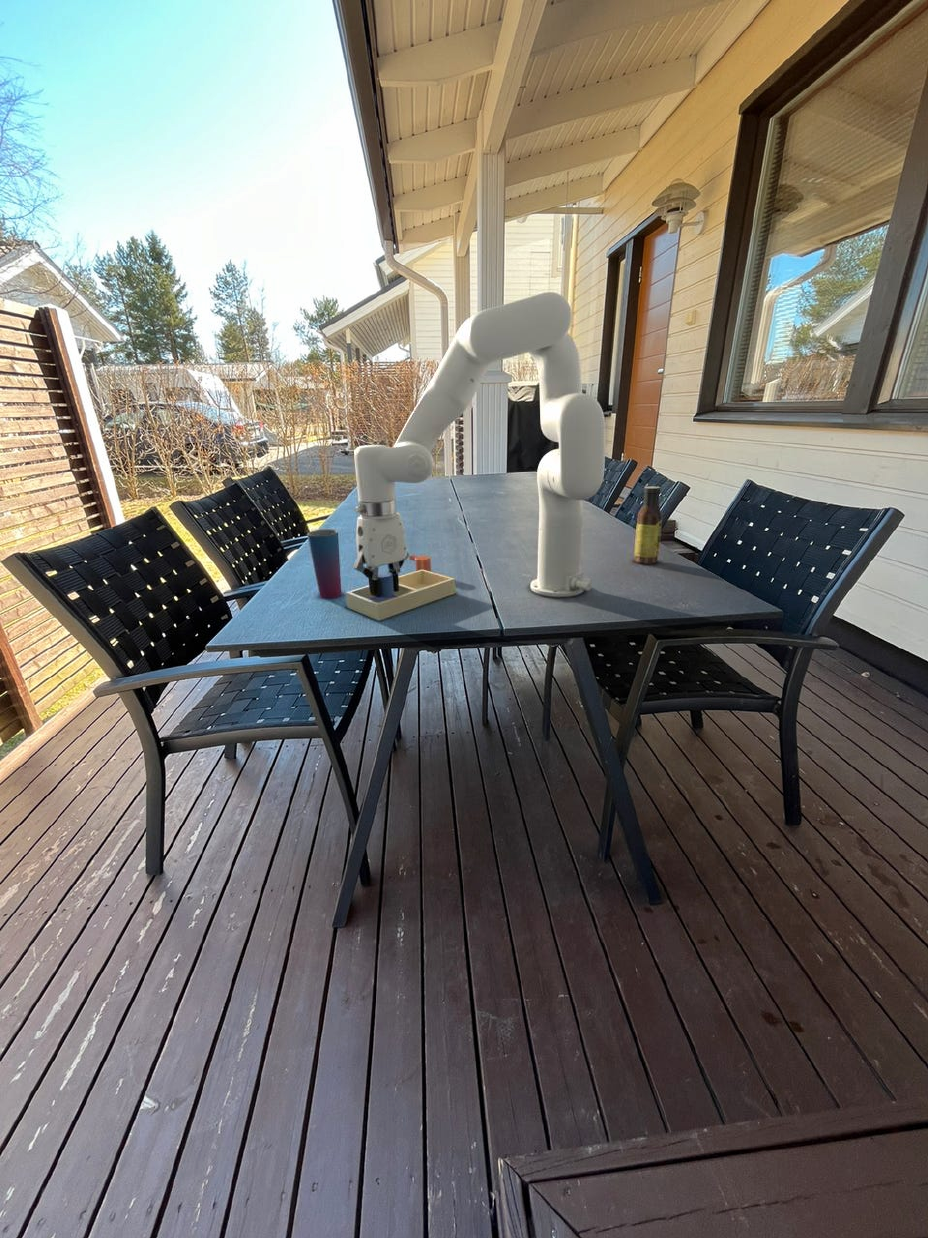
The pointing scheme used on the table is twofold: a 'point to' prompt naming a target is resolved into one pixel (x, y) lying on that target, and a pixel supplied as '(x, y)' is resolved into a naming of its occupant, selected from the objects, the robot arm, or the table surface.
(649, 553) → the sauce bottle
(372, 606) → the sorter
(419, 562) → the orange scoop
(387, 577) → the blue scoop
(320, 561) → the cup
